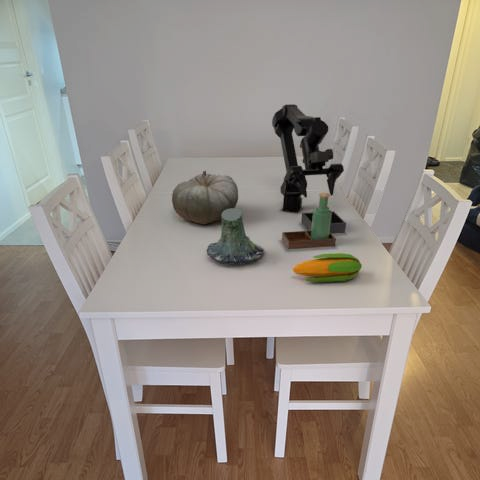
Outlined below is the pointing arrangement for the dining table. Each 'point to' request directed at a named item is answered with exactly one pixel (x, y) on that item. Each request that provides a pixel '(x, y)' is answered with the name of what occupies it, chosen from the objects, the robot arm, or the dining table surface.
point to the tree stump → (234, 241)
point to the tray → (335, 227)
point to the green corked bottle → (321, 219)
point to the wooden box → (305, 240)
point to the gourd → (205, 197)
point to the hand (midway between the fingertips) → (319, 196)
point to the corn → (329, 267)
